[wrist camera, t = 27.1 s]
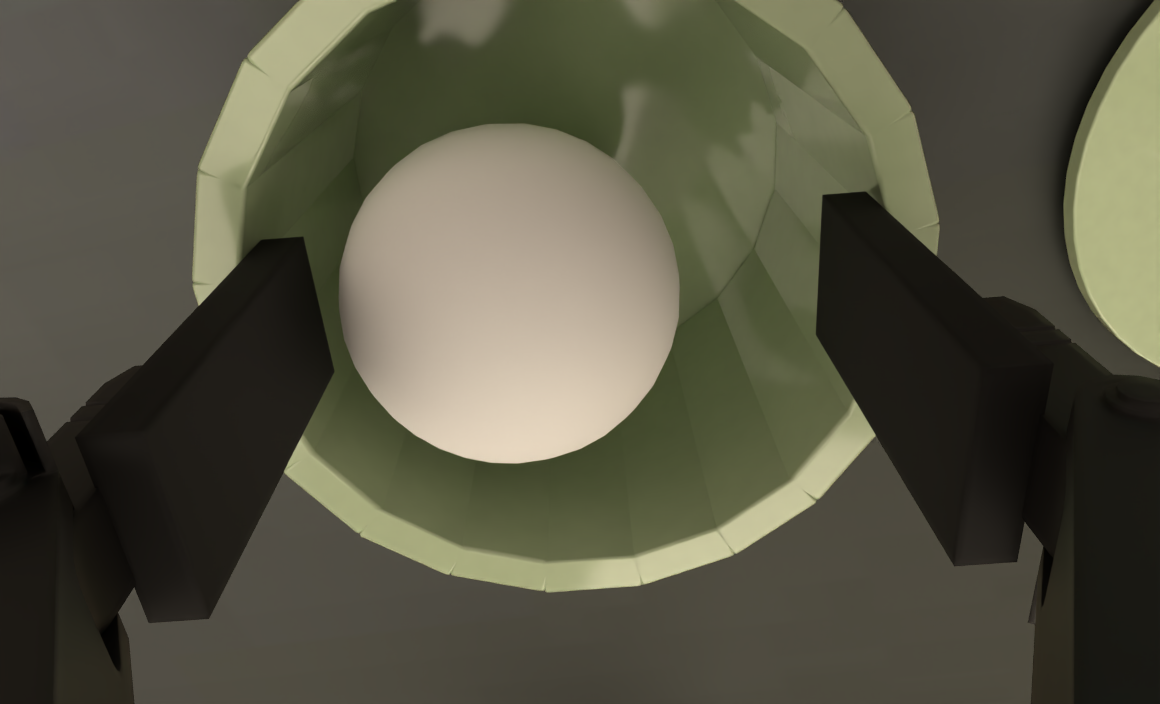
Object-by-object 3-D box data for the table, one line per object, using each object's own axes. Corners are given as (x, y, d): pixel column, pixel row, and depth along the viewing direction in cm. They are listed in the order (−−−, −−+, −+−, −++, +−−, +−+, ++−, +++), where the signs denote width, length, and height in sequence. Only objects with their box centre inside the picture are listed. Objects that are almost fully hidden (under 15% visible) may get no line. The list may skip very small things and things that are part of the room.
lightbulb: (635, 304, 24) (617, 574, 15) (424, 244, 24) (265, 480, 14) (707, 90, 22) (742, 252, 12) (468, 19, 21) (306, 126, 12)
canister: (281, -72, 21) (86, -64, 12) (810, -119, 21) (983, -144, 12) (377, 388, 26) (288, 611, 18) (793, 356, 26) (903, 568, 18)
